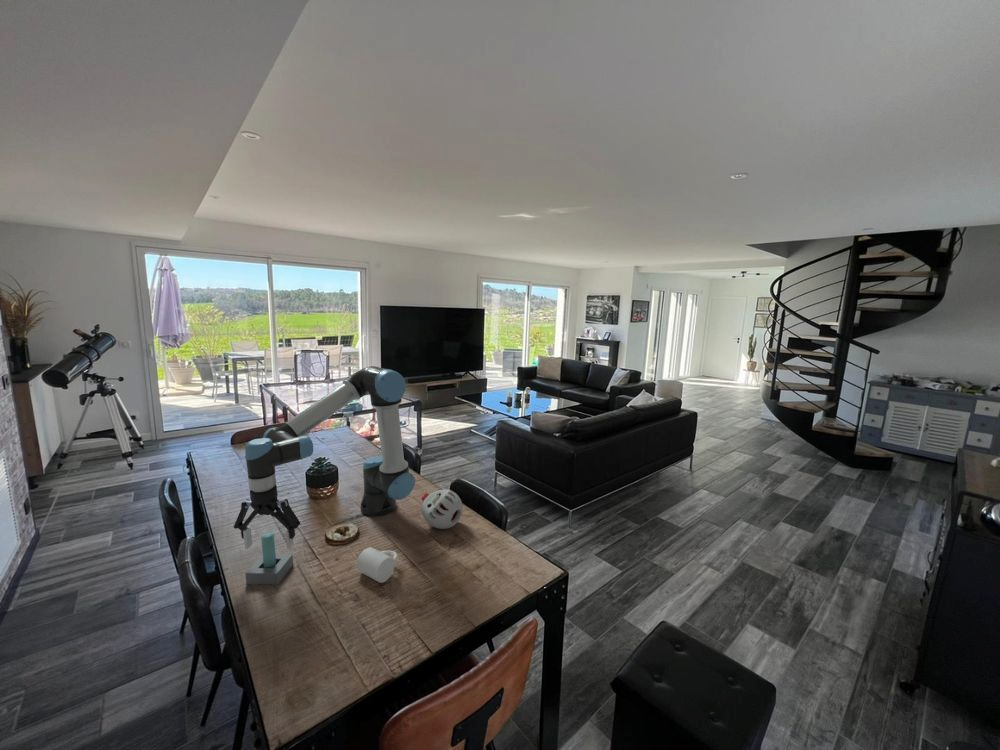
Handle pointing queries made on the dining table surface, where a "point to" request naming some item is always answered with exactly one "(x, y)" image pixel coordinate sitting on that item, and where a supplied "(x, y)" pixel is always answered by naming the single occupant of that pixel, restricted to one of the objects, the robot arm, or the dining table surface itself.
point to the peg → (268, 550)
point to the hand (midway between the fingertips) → (269, 546)
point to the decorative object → (442, 508)
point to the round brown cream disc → (341, 533)
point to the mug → (376, 564)
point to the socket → (269, 570)
